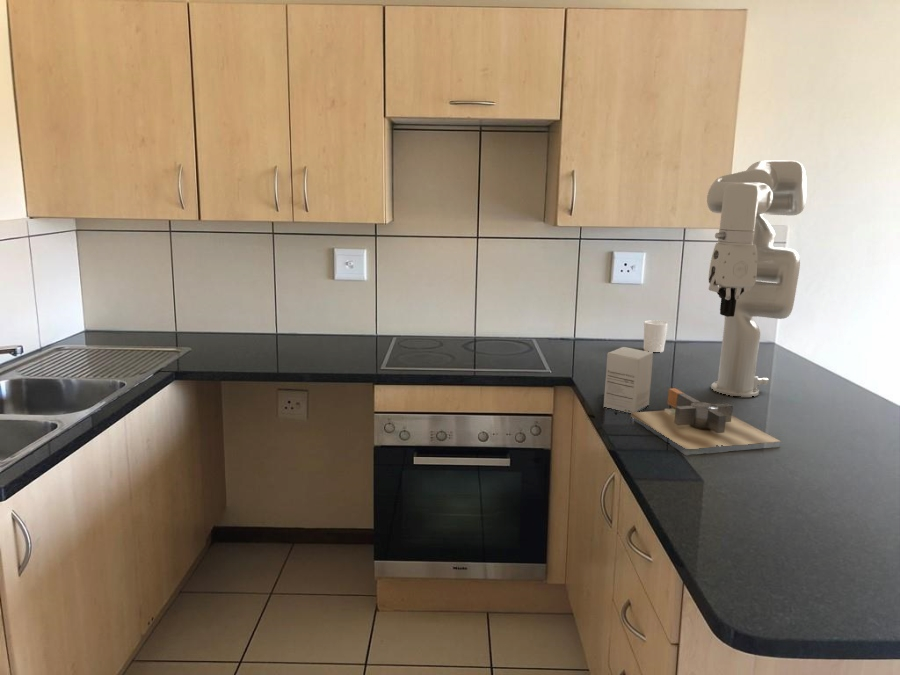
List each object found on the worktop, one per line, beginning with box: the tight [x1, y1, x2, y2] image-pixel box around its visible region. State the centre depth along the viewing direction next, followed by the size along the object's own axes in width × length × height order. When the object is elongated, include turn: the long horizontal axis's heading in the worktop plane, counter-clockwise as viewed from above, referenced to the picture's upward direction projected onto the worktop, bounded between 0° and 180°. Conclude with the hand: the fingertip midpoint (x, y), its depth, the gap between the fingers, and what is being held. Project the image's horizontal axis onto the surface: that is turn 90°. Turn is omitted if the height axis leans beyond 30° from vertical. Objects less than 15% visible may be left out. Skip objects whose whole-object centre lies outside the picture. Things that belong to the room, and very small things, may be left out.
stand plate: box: [630, 409, 782, 449], centre depth 164 cm, size 24×24×2 cm
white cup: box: [643, 319, 669, 353], centre depth 240 cm, size 8×8×10 cm
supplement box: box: [603, 346, 654, 413], centre depth 179 cm, size 9×9×15 cm
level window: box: [664, 407, 676, 415], centre depth 173 cm, size 6×3×1 cm, turn 105°
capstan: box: [666, 387, 734, 433], centre depth 166 cm, size 21×14×5 cm, turn 14°
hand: (726, 315), depth 164 cm, fingers closed
